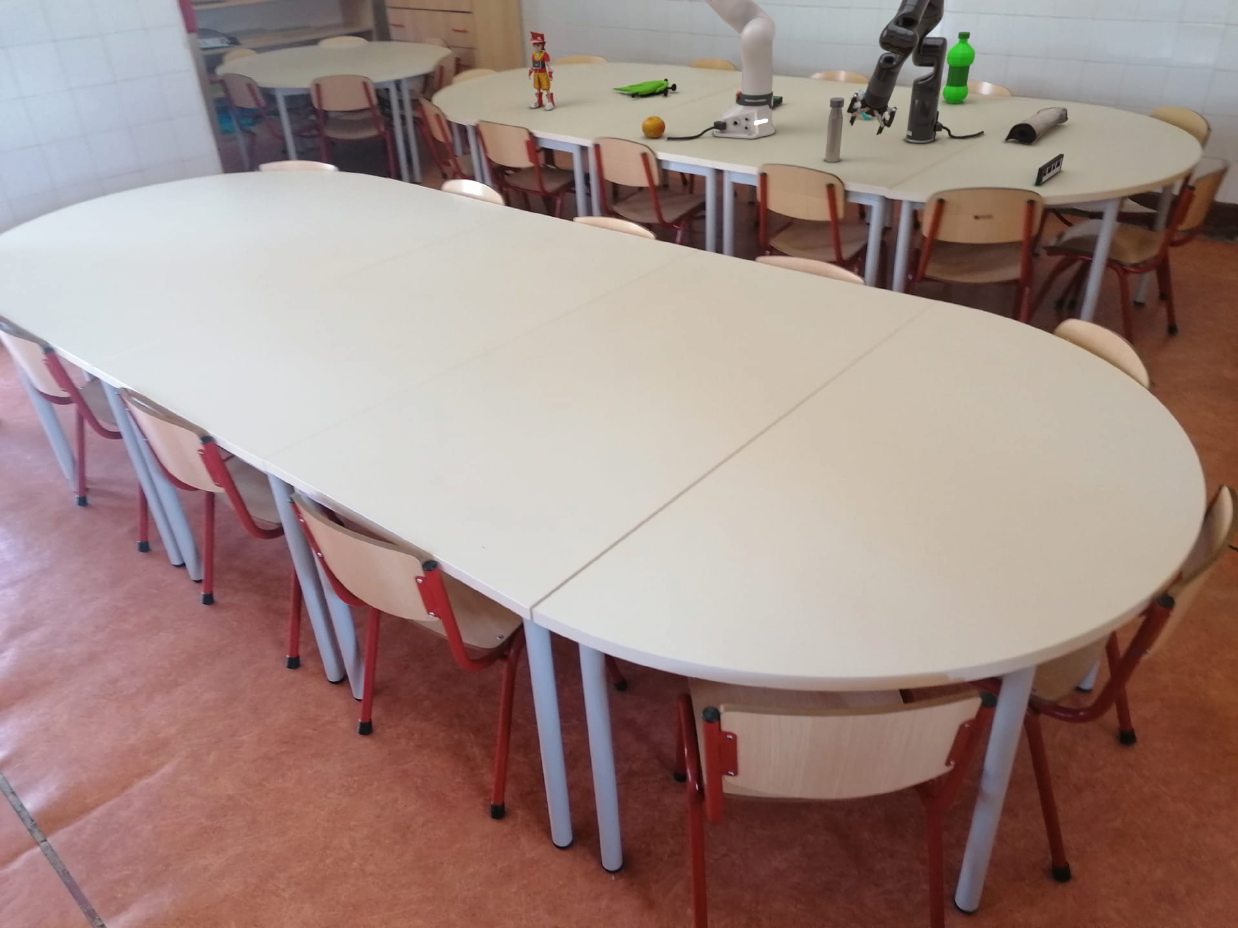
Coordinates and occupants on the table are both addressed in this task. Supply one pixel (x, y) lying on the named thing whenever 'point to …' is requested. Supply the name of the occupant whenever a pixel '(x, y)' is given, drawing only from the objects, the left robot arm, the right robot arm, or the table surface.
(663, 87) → the toy
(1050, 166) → the midi keyboard
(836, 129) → the bottle
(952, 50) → the plastic bottle
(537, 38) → the toy
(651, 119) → the fruit
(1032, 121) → the rolled mat
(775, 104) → the disk drive
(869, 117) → the anatomical model
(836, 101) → the cap
